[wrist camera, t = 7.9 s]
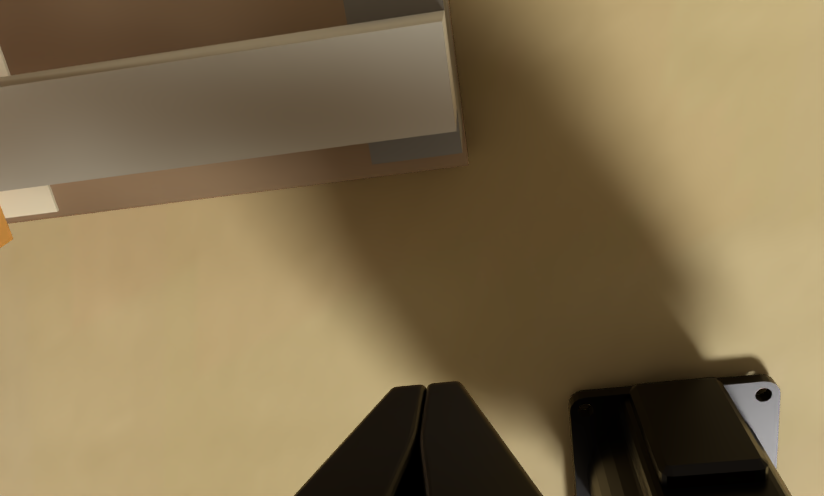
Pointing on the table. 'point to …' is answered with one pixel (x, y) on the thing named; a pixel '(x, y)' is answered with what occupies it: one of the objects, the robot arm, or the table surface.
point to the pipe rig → (218, 98)
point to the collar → (4, 230)
